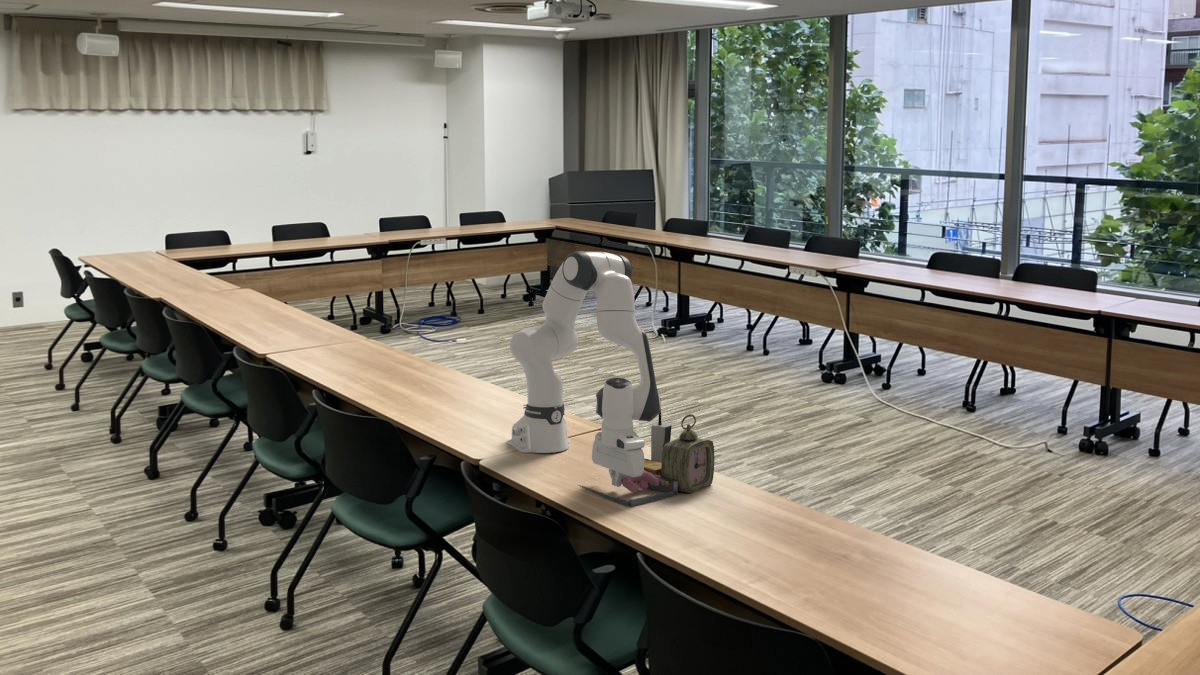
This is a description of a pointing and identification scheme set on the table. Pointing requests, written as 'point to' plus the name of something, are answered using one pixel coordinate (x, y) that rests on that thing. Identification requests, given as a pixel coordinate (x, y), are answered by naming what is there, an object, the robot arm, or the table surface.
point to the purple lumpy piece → (643, 479)
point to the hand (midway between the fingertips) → (616, 485)
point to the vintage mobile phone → (659, 439)
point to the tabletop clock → (689, 460)
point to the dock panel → (665, 487)
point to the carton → (652, 466)
